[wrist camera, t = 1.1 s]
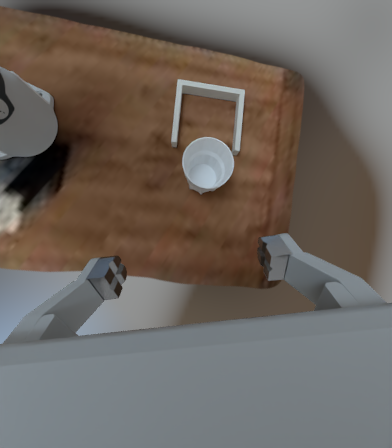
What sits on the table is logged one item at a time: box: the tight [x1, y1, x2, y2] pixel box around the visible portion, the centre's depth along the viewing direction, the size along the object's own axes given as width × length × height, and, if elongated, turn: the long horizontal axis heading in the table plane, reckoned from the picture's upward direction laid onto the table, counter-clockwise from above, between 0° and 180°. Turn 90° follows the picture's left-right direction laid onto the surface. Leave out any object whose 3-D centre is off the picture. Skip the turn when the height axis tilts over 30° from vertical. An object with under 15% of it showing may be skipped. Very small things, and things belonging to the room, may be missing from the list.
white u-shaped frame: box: [171, 79, 245, 155], centre depth 42 cm, size 15×16×2 cm
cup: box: [182, 137, 234, 195], centre depth 38 cm, size 10×10×10 cm
